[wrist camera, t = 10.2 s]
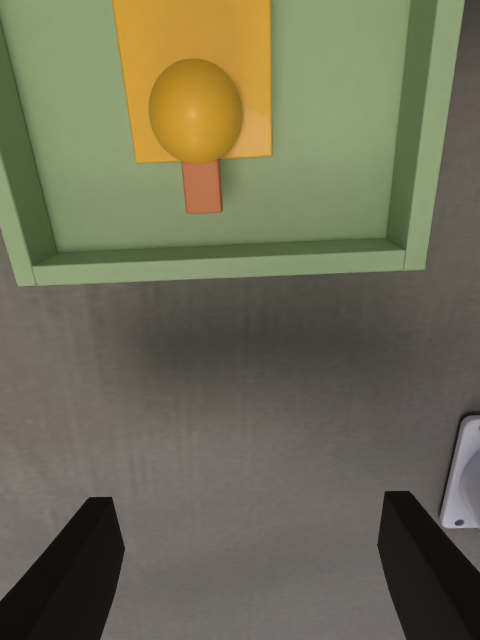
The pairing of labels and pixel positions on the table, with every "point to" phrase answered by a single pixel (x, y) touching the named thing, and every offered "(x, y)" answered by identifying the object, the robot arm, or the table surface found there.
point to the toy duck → (197, 86)
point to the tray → (236, 174)
